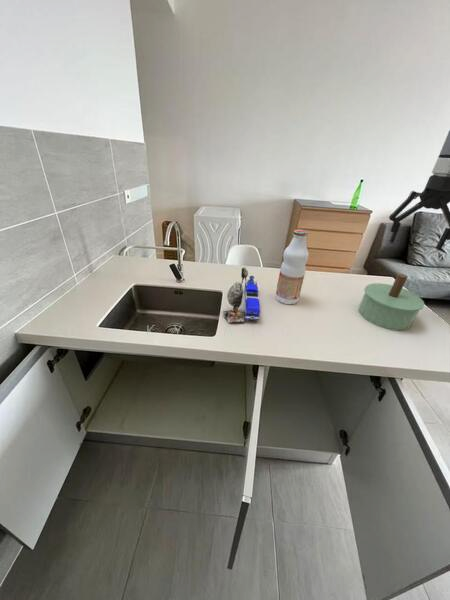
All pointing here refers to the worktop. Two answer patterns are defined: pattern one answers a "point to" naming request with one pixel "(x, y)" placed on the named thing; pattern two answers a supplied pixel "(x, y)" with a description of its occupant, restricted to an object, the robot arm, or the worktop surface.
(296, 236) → the fruit juice
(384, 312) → the tin
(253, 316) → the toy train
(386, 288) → the tin lid
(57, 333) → the worktop surface
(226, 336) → the worktop surface
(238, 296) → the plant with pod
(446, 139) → the robot arm
